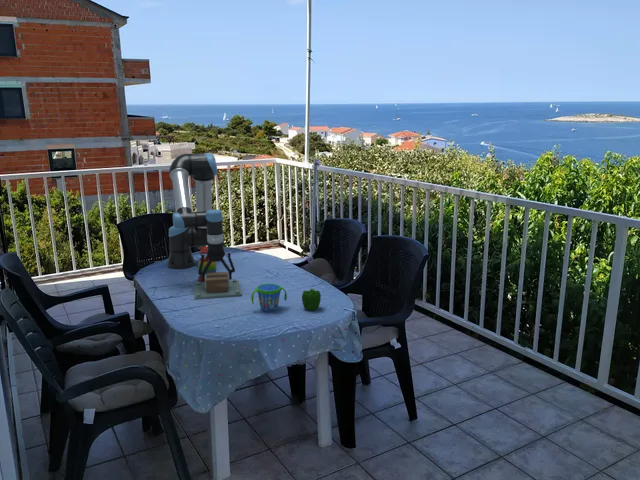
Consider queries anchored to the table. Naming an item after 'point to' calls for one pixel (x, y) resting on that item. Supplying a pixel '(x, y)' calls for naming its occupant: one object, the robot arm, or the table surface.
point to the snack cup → (268, 296)
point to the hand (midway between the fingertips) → (217, 286)
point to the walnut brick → (216, 282)
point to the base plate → (232, 292)
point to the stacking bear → (212, 266)
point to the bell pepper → (311, 299)
